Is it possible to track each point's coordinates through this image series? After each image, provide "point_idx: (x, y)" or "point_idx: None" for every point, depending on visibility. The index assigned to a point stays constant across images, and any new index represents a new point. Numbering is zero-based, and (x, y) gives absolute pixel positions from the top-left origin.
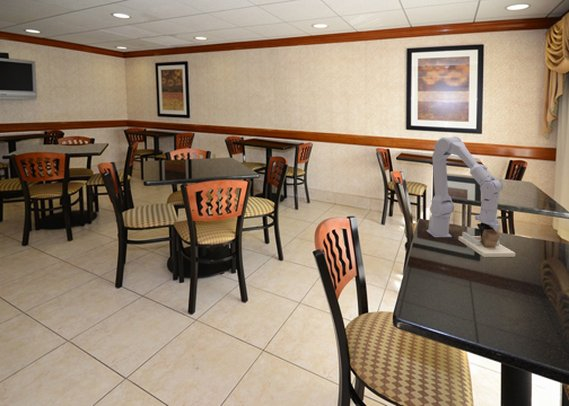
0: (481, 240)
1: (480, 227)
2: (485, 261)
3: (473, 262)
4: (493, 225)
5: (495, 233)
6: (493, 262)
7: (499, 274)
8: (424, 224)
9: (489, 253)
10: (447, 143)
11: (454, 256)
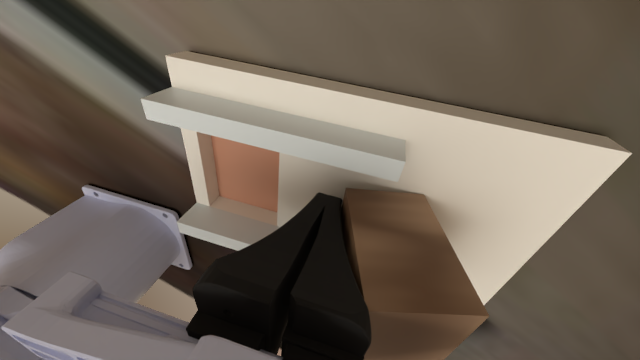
0: None
1: (280, 339)
2: (516, 315)
3: (493, 347)
4: None
5: (443, 330)
6: (553, 302)
7: None
8: (20, 189)
9: (493, 294)
10: None
11: None
